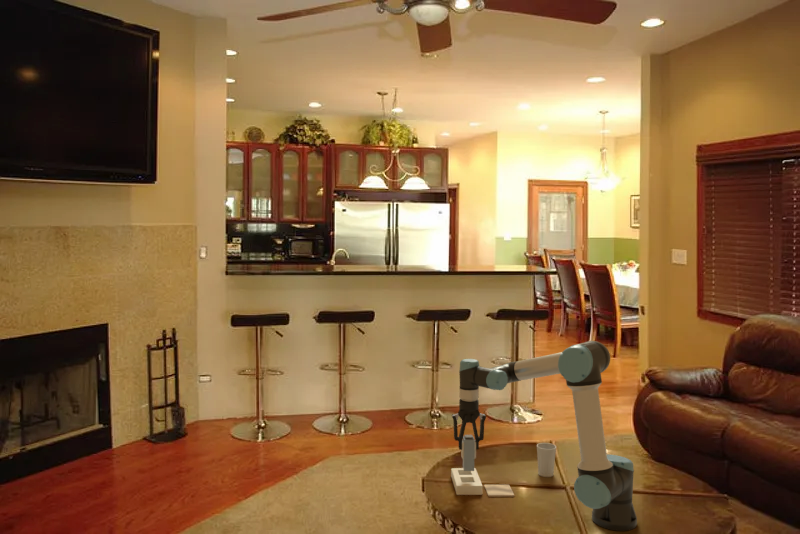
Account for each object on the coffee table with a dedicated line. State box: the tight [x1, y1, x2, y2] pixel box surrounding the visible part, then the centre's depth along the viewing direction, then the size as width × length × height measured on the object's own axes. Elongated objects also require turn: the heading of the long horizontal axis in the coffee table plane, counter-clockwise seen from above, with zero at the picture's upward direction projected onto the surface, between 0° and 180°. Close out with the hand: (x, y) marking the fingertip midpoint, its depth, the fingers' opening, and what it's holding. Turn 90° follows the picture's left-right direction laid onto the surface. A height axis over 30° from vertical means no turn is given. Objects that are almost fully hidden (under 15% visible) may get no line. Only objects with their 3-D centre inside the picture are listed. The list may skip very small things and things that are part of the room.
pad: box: [483, 484, 515, 498], centre depth 255 cm, size 10×10×1 cm
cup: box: [536, 442, 557, 478], centre depth 272 cm, size 8×8×12 cm
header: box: [450, 467, 484, 496], centre depth 260 cm, size 18×10×4 cm, turn 2°
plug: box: [462, 434, 475, 471], centre depth 256 cm, size 4×4×13 cm
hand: (468, 457), depth 256 cm, fingers closed on plug, 4 cm apart
